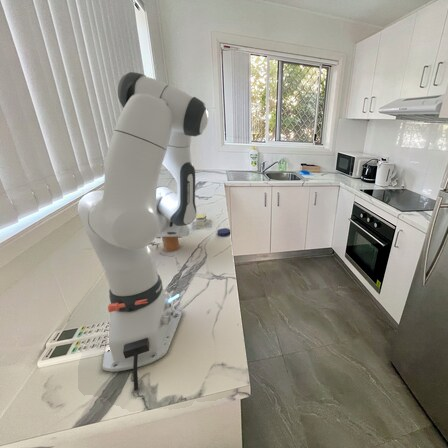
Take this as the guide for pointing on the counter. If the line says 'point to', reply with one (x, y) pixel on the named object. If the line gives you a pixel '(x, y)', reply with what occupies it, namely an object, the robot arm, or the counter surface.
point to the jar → (170, 243)
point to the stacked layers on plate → (201, 222)
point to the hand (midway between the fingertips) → (170, 236)
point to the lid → (224, 232)
